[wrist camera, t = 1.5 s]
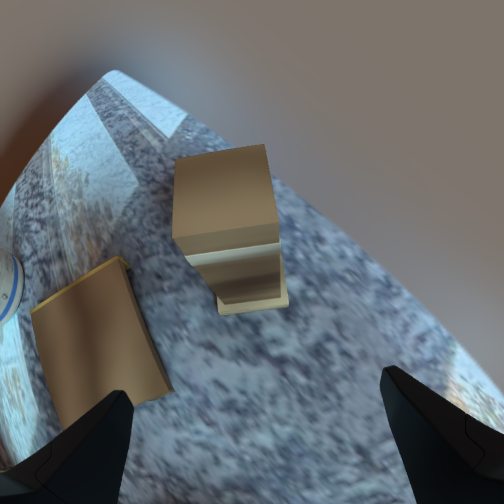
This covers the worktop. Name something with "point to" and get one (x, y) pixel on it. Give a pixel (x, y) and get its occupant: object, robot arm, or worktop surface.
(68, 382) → the dock
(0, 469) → the whiskey bottle
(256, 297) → the tan square pillar
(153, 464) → the worktop surface
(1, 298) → the supplement tub
